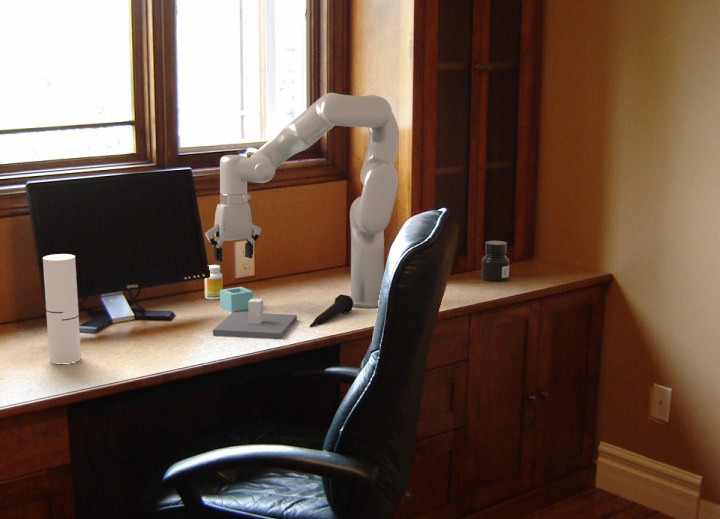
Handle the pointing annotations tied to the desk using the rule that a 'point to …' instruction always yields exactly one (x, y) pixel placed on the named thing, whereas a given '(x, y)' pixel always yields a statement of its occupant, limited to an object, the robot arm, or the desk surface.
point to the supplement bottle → (213, 283)
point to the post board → (255, 323)
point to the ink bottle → (495, 262)
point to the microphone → (335, 309)
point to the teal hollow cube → (235, 298)
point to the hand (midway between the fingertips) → (233, 259)
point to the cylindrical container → (62, 308)
